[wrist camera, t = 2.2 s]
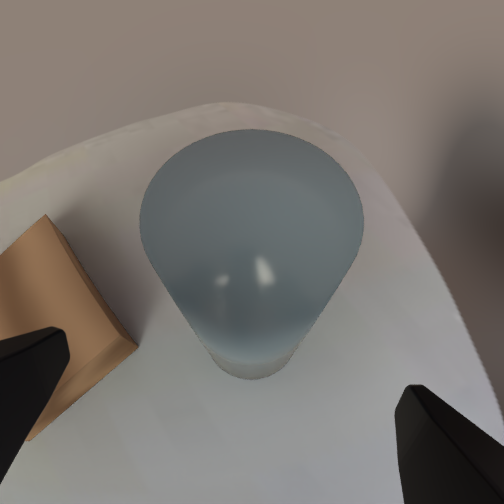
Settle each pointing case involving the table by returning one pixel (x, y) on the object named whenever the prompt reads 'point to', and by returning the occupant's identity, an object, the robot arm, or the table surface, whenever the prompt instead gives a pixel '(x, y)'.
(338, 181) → the slate canister
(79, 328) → the walnut base
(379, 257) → the table surface
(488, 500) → the robot arm
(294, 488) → the table surface
